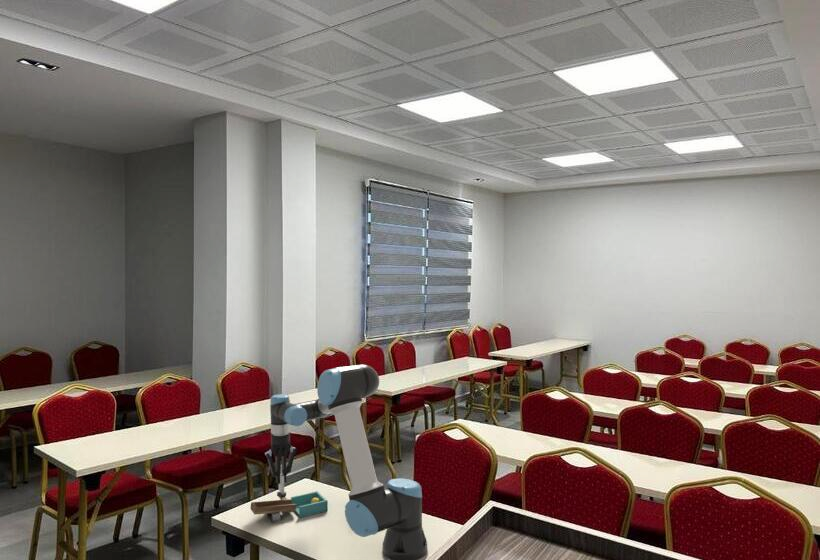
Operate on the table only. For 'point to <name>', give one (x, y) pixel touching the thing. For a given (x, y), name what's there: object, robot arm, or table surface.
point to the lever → (273, 505)
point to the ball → (314, 500)
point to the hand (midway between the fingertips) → (281, 490)
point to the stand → (274, 517)
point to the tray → (309, 504)
